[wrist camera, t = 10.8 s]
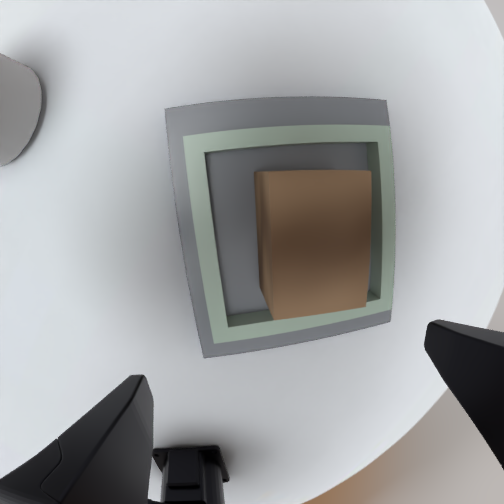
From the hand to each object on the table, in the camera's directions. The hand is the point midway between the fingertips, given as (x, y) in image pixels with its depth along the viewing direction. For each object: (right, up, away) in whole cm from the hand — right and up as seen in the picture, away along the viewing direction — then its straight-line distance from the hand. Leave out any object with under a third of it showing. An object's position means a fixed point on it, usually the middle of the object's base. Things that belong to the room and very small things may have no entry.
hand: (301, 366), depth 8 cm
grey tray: (+1, +5, +11) cm, 12 cm away
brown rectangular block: (+1, +5, +10) cm, 11 cm away
